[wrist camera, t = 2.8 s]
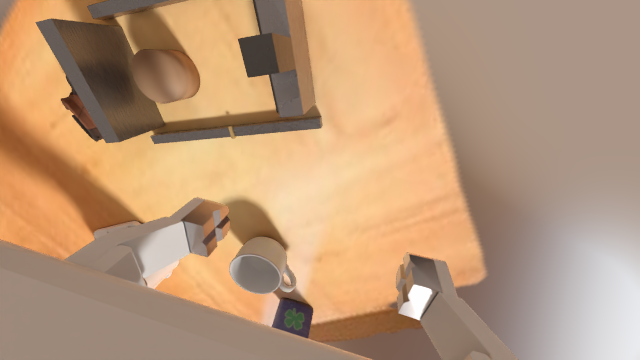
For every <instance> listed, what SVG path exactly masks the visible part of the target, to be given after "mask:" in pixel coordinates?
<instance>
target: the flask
mask: <svg viewBox="0 0 640 360" xmlns="http://www.w3.org/2000/svg"><path fill="white" fill-rule="evenodd" d="M312 315H313V308H312V307H311V306H309V305H307V304H304V303H302V302H298V301H295V300H292V299H288V298H282V299H281V300H280V302H279V306H278V309H277V312H276V315H275V319H274V322H273V325H272V327H273V328H276V329H279V330H282V331H286V332H289V333H292V334H295V335H298V336H301V337H304V338H307V339H308V336H309V330H310V325H311V320H312Z"/></svg>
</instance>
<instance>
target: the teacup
mask: <svg viewBox="0 0 640 360" xmlns="http://www.w3.org/2000/svg"><path fill="white" fill-rule="evenodd" d="M286 263H287V255H286V252H285V250H284V248H283V247H282V246H281V245H280V244H279V243H278V242H277V241H275V240H273V239H271V238H268V237H255V238H252V239H250V240H249V241H247V242H246V243H245V244H244V245H243V246H242V248H241V249H240V251H239V252H238V253H237V255H236V257H235V258H234V259H233V260H232V262H231V263H230V267H229V272H230V275H231V277H232V279H233V280H234V281H235V283H236V284H237V285H239V286H240V287H241V288H243V289H244V290H246V291H249V292H252V293H255V294H268V293H271V292H273V291H275V290H276V289H277V288H278V287H280V289H281V290H282V291H284V292H291V291H292V290H293V289H294V288H295V286H296V278H295V276H294V274H293V273H292V271H291V270H290V269H289V267H288V265H287V264H286ZM284 272H285V273H286V275H287V276H288V277H289V279H290V281H291V286H287V285H286V284H285V283H284V277H283V274H284Z"/></svg>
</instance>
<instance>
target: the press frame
mask: <svg viewBox="0 0 640 360" xmlns="http://www.w3.org/2000/svg"><path fill="white" fill-rule="evenodd" d="M183 1H187V0H109V1H105V2H101V3H97V4H93V5H89V6H87V7H88V9H89V11H90V13H91V15H92V17H93V19H99V20H106V19H110V18H114V17H119V16H123V15H127V14H132V13H136V12H140V11H144V10H149V9H153V8H157V7H162V6H166V5H170V4H174V3H179V2H183ZM35 23H36V24H37V26H38V28H39V29H40V31H41V33H42V34H43V36H44V38H45V40H46V41H47V43H48V45H49V46H50V48H51V50H52V52H53V53H54V55H55V57H56V58H57V60H58V62H59V63H60V65H61V67H62V69H63V70H64V72H65V74H66V75H67V77H68V79H69V81H70V82H71V84H72V86H73V87H74V89H75V91H76V92H77V94H78V96H79V98H80V99H81V101H82V103H83V104H84V106H85V108H86V110H87V111H88V113H89V115H90V116H91V118H92V120H93V121H94V123H95V125H96V127H97V128H98V130H99V132H100V133H101V135H102V137H103V139H104V140H105V142H106V143H113V142H121V141H124V140H126V139H129V138H132V137H135V136H138V135H140V134H143V133H146V132H149V131H151V130H154V129H157V128H160V127H163V126H165V124H164V121H163V119H162V117H161V115H160V112H159V110H158V108H157V106H156V103H155V101H153V100H151V99H150V98H148V97H147V96H146V95H145V94H144V93H143V92H142V91H141V90H140V89H139V87H138V86H137V84H136V82H135V80H134V78H133V74H132V68H131V66H132V60H133V57H134V54H133V52H132V50H131V48H130V45H129V43H128V41H127V39H126V36H125V34H124V32H123V30H122V27H118V26H109V25H101V24H93V23H84V22H76V21H68V20H59V19H47V20H43V21H39V22H35ZM319 128H322V118H321V116H320V117H310V118H300V119H291V120H281V121H272V122H262V123H252V124H243V125H233V126H224V127H214V128H204V129H195V130H185V131H176V132H166V133H157V134H154V135H152V136H151V138H152V140H153V142H154V144H159V143H169V142H180V141H191V140H201V139H212V138H223V137H231V138H232V139H233V138H236V137H235V136H244V135H255V134H265V133H276V132H287V131H297V130H308V129H319Z"/></svg>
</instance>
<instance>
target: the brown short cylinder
mask: <svg viewBox="0 0 640 360" xmlns="http://www.w3.org/2000/svg"><path fill="white" fill-rule="evenodd" d="M131 68H132V74H133V78H134V80H135V82H136V84H137V86H138V87H139V89H140V90H141V91H142V92H143V93H144V94H145V95H146V96H147V97H148V98H150V99H151V100H153V101H155V102H158V103H163V104H165V103H170V102H174V101H178V100H182V99H186V98H190V97H193V96H194V95H195V94H196V93H197V92H198V90H199V87H200V76H199V73H198V70H197V68H196V66H195V64H194V63H193V61H192V60H191V59H190V58H189V57H188V56H187V55H185V54H184V53H182V52H180V51H176V50H153V49H144V50H140V51H138V52H137V53H136V54H135V55H134V57H133V60H132V66H131Z"/></svg>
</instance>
